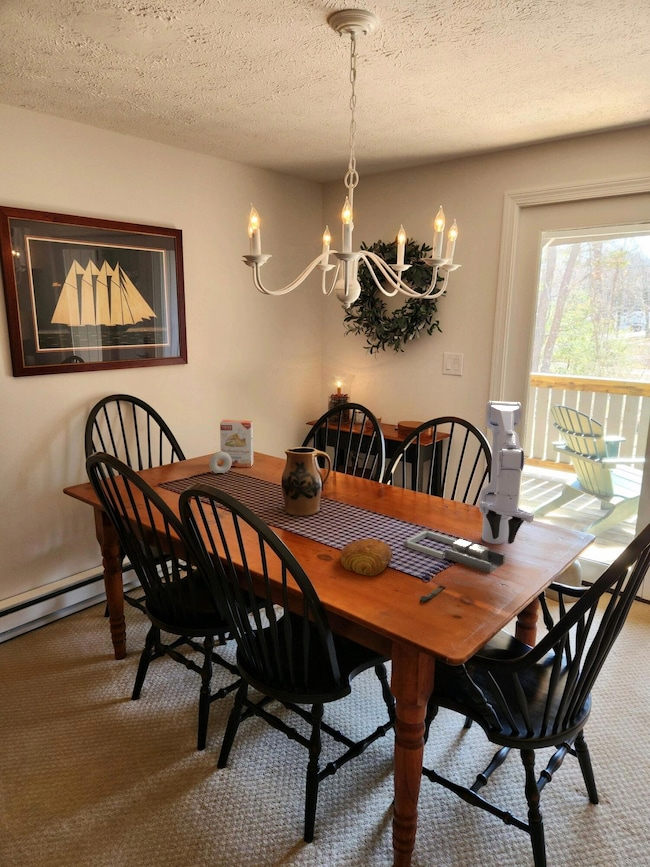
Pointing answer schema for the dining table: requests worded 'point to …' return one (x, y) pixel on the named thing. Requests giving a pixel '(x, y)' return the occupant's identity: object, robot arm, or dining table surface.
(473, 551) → the cream cube
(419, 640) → the dining table surface
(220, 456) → the donut
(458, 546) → the beige cube
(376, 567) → the croissant
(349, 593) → the dining table surface
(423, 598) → the tactical tomahawk
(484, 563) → the rail
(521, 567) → the dining table surface
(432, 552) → the tray
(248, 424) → the cracker box
